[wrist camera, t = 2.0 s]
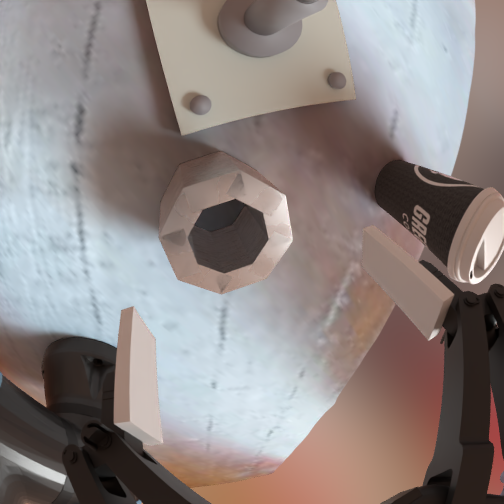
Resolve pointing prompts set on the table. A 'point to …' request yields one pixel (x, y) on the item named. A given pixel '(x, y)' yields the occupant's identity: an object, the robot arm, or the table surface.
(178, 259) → the hub
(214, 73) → the shaft block
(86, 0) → the table surface
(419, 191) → the coffee cup
